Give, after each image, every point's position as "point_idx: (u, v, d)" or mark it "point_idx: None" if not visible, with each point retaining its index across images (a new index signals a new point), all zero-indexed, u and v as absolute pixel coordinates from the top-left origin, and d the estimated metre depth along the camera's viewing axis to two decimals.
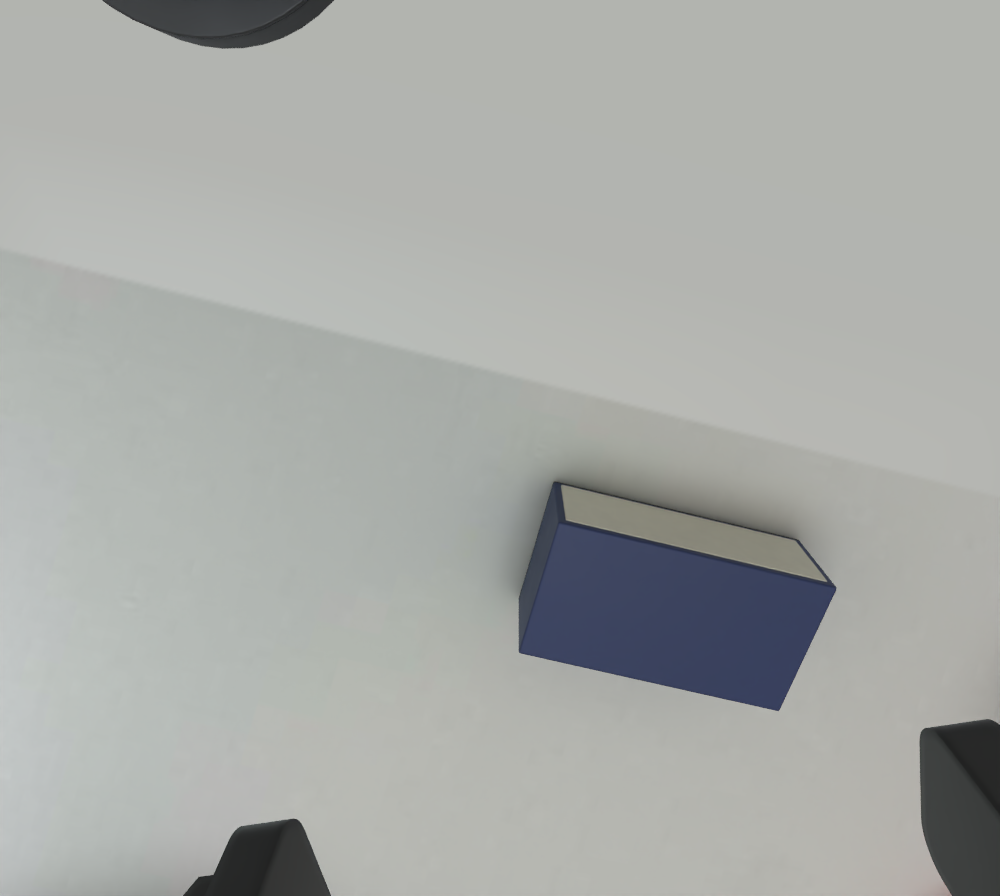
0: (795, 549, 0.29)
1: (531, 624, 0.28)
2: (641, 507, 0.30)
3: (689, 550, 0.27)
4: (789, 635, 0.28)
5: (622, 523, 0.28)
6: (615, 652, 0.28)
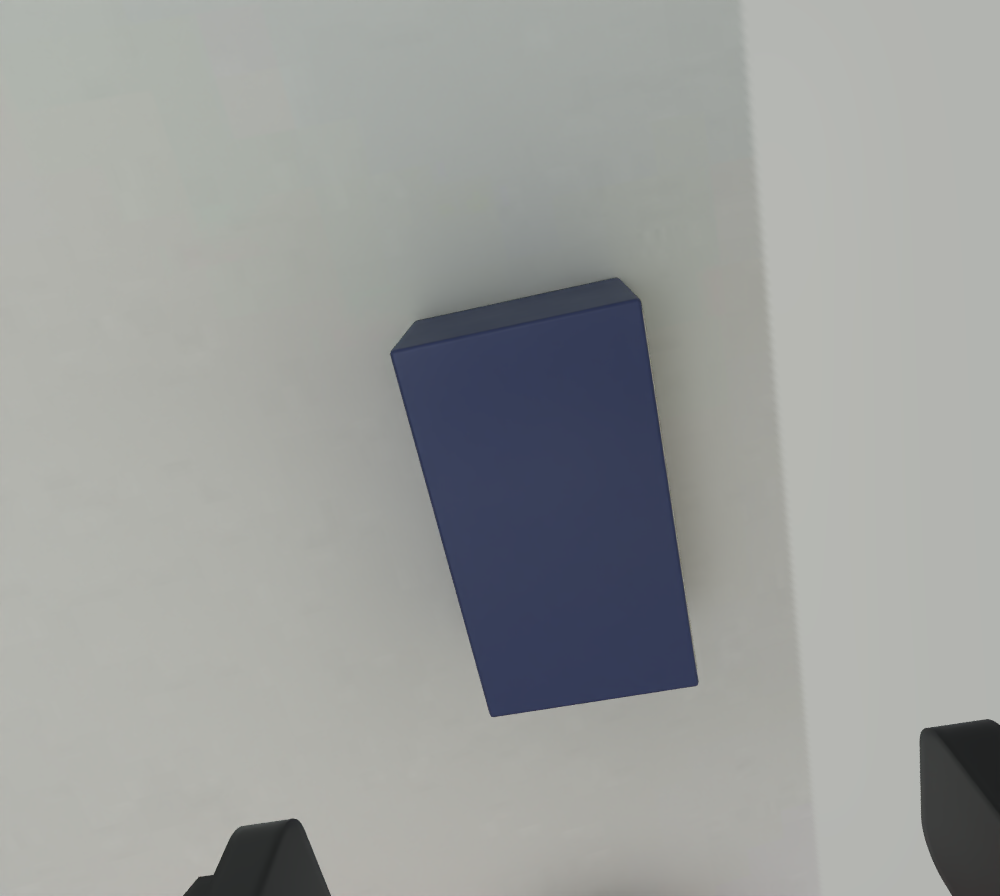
0: None
1: (450, 346, 0.17)
2: None
3: (669, 495, 0.18)
4: (606, 672, 0.20)
5: None
6: (467, 484, 0.18)
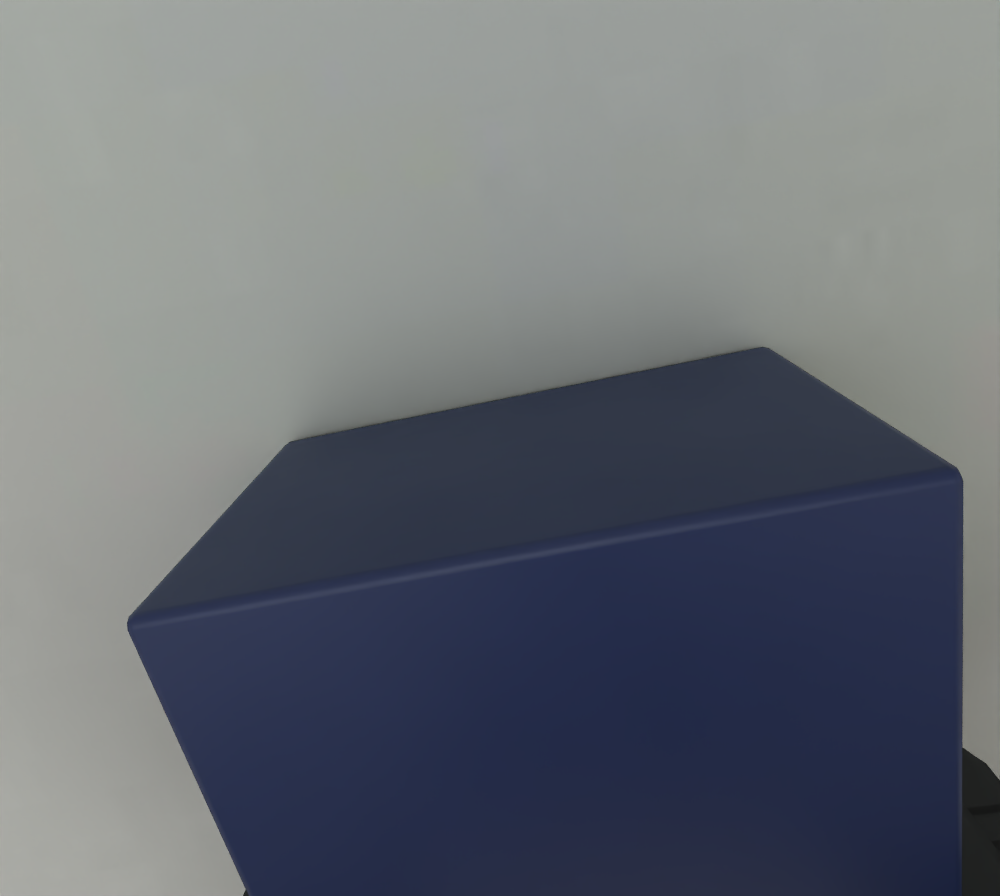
0: None
1: (314, 608, 0.05)
2: None
3: None
4: None
5: None
6: None
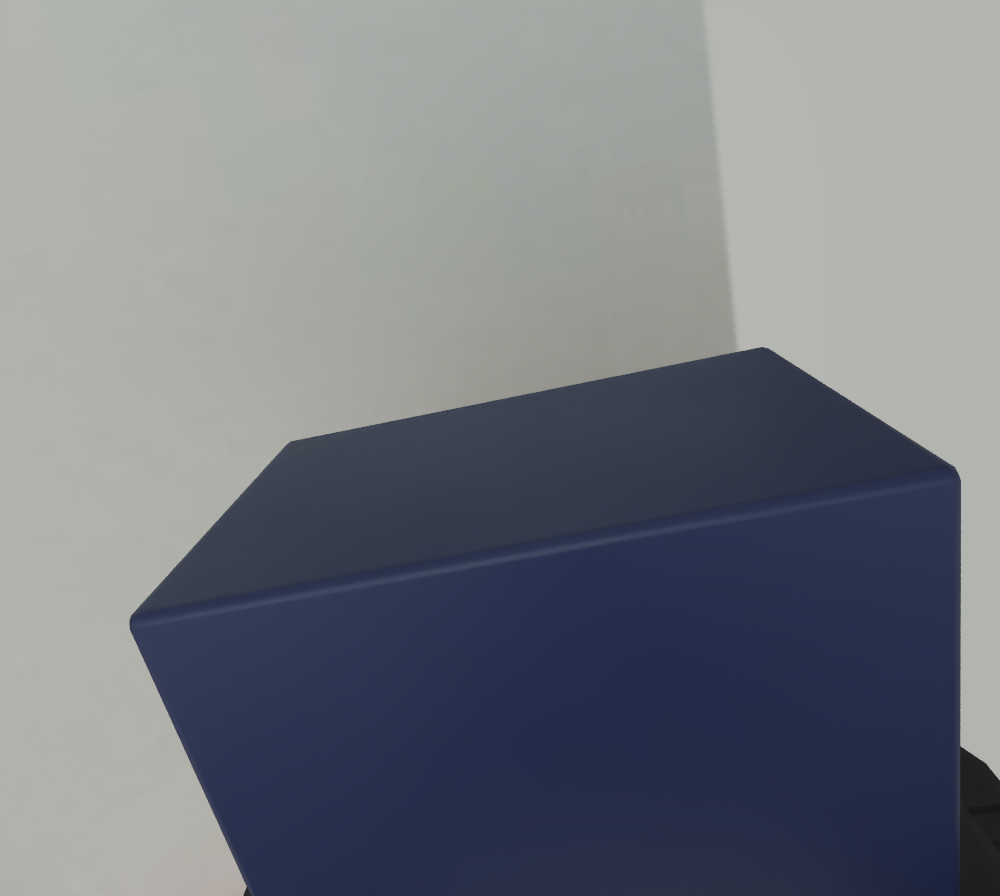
0: None
1: (317, 605, 0.05)
2: None
3: None
4: None
5: None
6: None
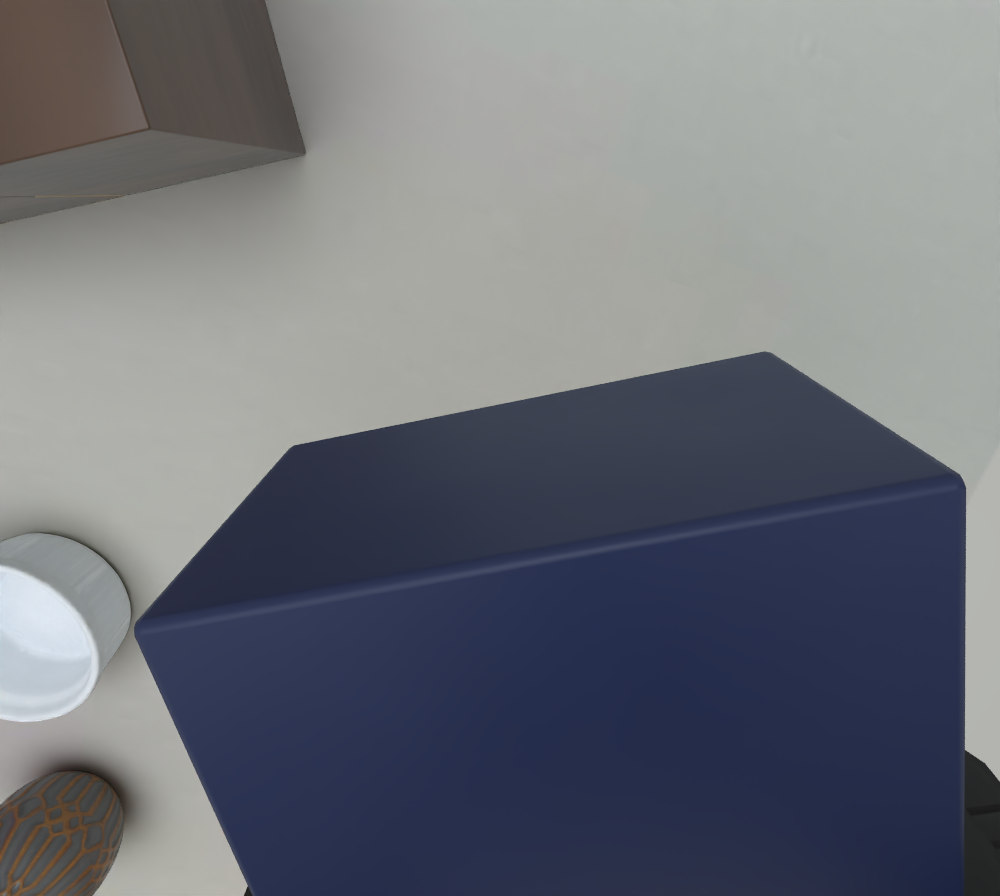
0: None
1: (321, 612, 0.05)
2: None
3: None
4: None
5: None
6: None
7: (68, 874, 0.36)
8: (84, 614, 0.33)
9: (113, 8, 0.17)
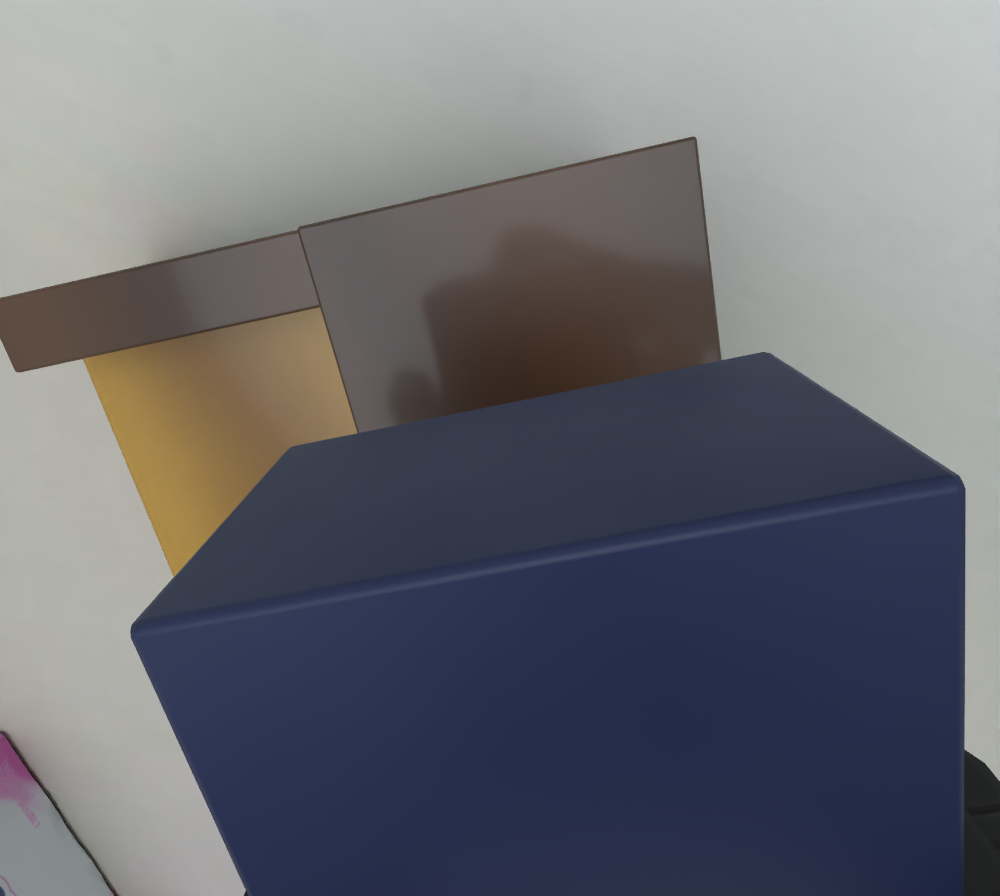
0: None
1: (319, 614, 0.05)
2: None
3: None
4: None
5: None
6: None
7: None
8: None
9: None
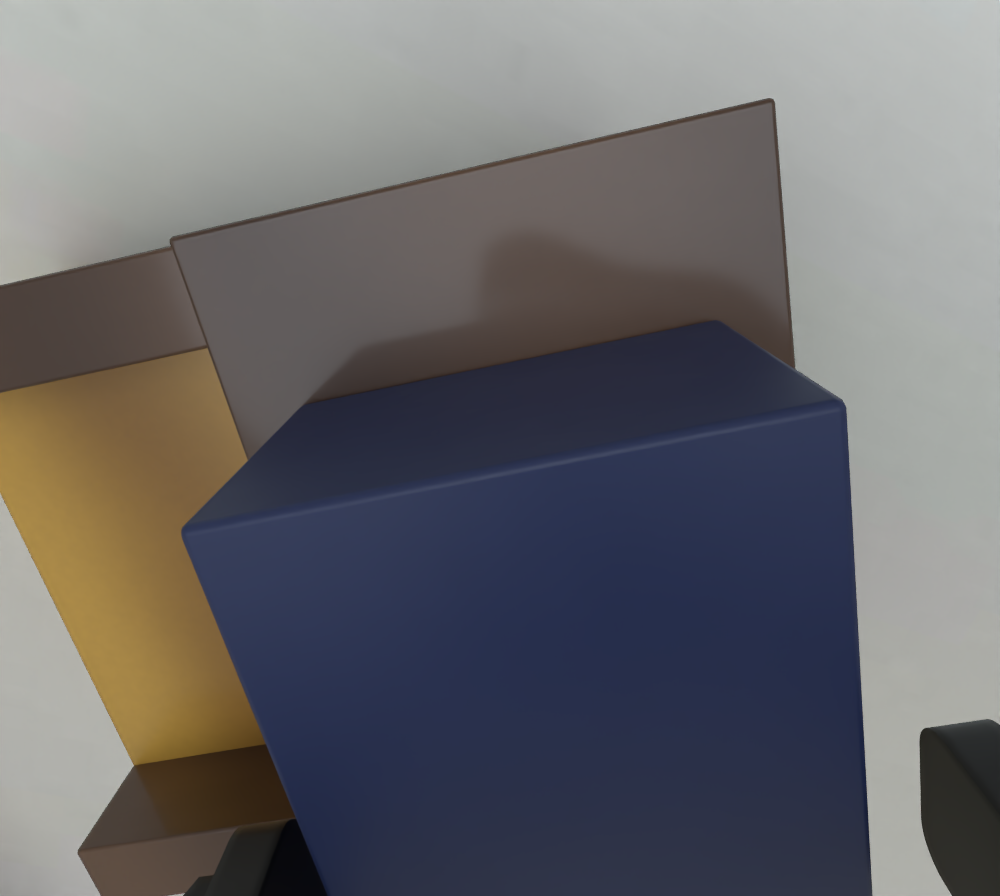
0: None
1: (333, 516, 0.06)
2: None
3: None
4: None
5: None
6: (392, 819, 0.08)
7: None
8: None
9: None
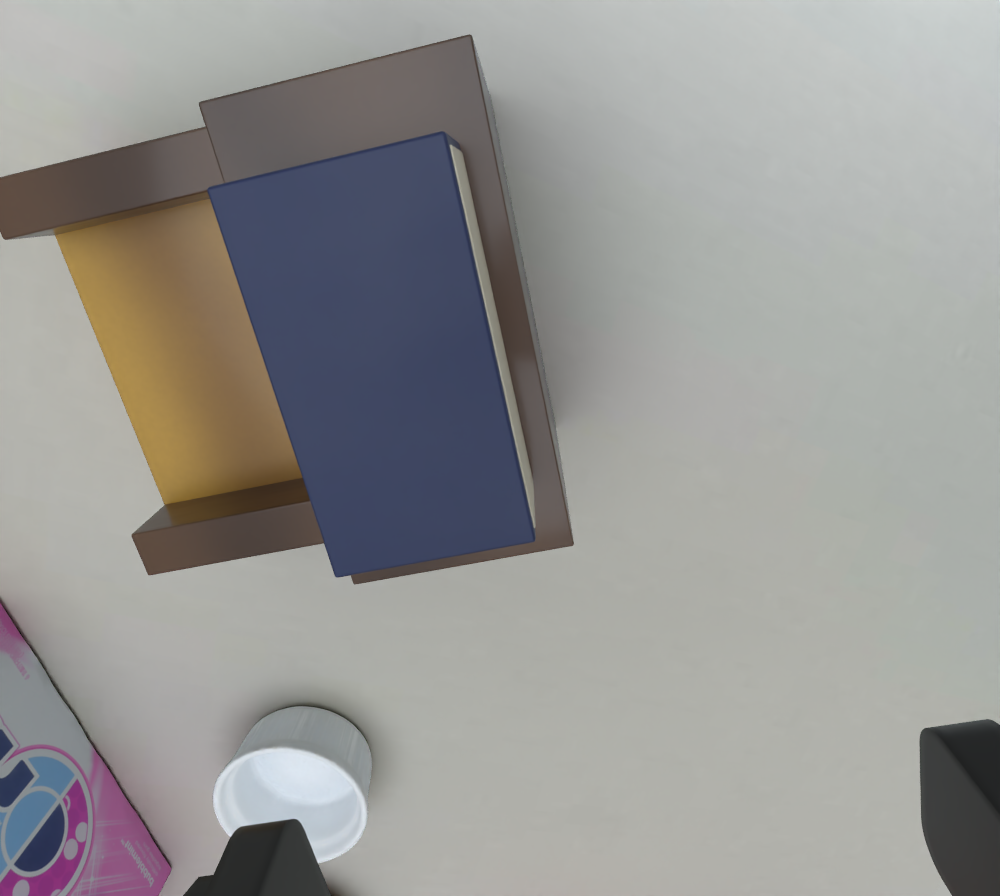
0: (531, 483, 0.22)
1: (264, 180, 0.17)
2: (487, 274, 0.21)
3: (492, 341, 0.19)
4: (444, 527, 0.20)
5: (475, 240, 0.19)
6: (292, 328, 0.18)
7: None
8: (358, 783, 0.40)
9: (559, 475, 0.24)
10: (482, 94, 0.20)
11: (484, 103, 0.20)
